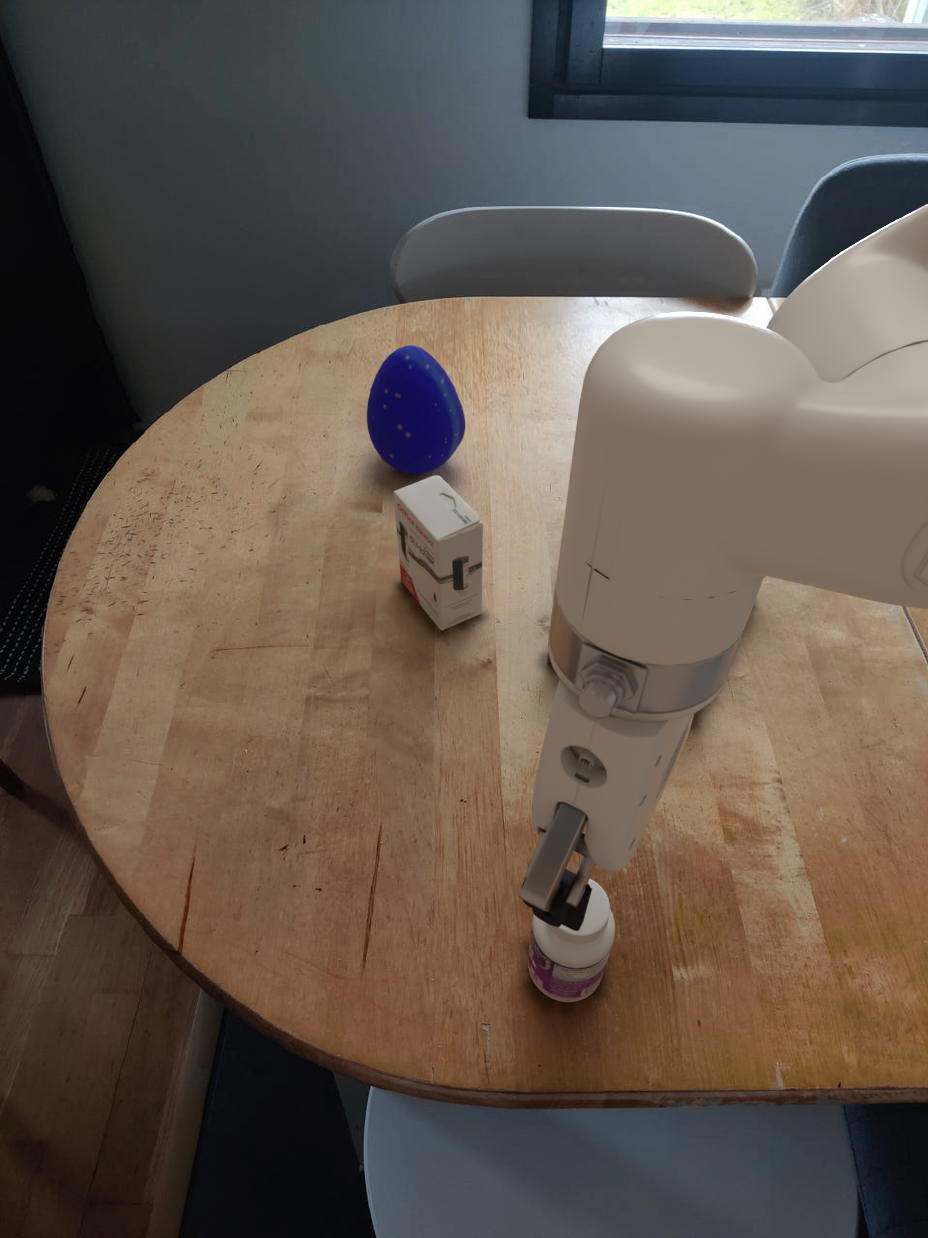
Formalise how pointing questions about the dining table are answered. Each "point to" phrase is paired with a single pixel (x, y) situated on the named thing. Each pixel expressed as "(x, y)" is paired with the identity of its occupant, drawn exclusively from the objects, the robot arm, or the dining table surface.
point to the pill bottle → (572, 951)
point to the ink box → (440, 550)
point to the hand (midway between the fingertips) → (590, 840)
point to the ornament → (414, 412)
